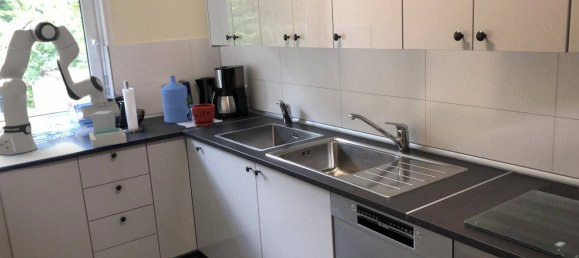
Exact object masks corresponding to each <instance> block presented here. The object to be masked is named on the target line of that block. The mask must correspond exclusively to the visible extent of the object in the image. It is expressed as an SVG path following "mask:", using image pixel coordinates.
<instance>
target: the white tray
mask: <svg viewBox="0 0 579 258" xmlns="http://www.w3.org/2000/svg"><path fill="white" fill-rule="evenodd" d="M118 128H119V127H118ZM88 135H89V140H90V141H89V142H90V143H91V146H92V148H98V147H106V146H112V145H119V144H125V143H128V141H127V134H126V133H125V132H124V130H123V129H122V128H119V132H112V133H105V134H99V135H95V133H94V131H93V132H92V131H91V132H89V134H88Z"/></svg>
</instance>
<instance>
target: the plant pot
mask: <svg viewBox="0 0 579 258" xmlns="http://www.w3.org/2000/svg"><path fill="white" fill-rule="evenodd" d="M215 110H216V107H215V104H213V103H200V104H195V105H192V106H191V113H192V117H193V120H194V121H195V122H194V125H195V126H196V127H201V128H202V127H203V128H205V127H209V126H213V125H214V124H215V120H214V119H215V115H216V114H215V113H216V111H215Z"/></svg>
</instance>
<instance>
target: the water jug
mask: <svg viewBox="0 0 579 258" xmlns="http://www.w3.org/2000/svg"><path fill="white" fill-rule="evenodd" d="M169 80H170V82H169V83H168V84H166V85H165V86H163V87H161V88H160V93H161V94H160V95H161V99H162V109H163V117H164V118H163V121H164V122H165V123H167V124H179V122H181V123H185V122H188V121H187V112H188V110H189V111H190V109H189V107H188V106H187V101H186V100H187V98H188V89H187V86H186V85H185V84H181V83H179V82H177V81H176V75H169Z"/></svg>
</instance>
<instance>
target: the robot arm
mask: <svg viewBox="0 0 579 258" xmlns="http://www.w3.org/2000/svg"><path fill="white" fill-rule="evenodd" d="M36 42H37V43H52V45H53V46H54V48H55V50H56V52H57V55H58V56H57V59H56V63H57V68H58V70H59V74H60V76H61V78H62V81H63V84H64V86H65V89H66V93H67V95H68V97H69V99H70V100H73V101H80V100H81V99H83V98H86V97H87V96H89V98H90V104H91V103H92V106H89V107H84V108H83V109H82V110H81V109H80V111H81V113H82V119H83V118H84V119H90V118H92V114H93V113H96V112H98V111H113V113H114V118H115V117H116V118H117V117H119V116H121V110H120V107H119V104H118V103H116V100H115V98H113V97H112V98H111V97H110V98H109V97H106V91H105V88H104V84H103V83H102V81H101V79H100V78H98V77H97V76H94V75H90V76H86V77H84V78H82V79H79V80H76V81H74V80H73V79H72V76H71V74H70V71H69V67H70V65H71V64H72V63H73V62H74V61H75V60H76V59H77V58H78V57H79V55H80V46H79V44H78V43H77V41H76V39H75V37H74V36H73V34H72V33H71V31H70V30H69V29H68V28H67V27H66V26H65V25H63V24H59V25H55V24H54V23H52V22H49V21H45V20H31V21H29V22H27V23H26V24H25V25H24V27H22V28H15V29H13V30H12V32H11V34H10V37H9V39H8V43H7V46H6V50H5V56H4V59H3V63H2V65H1V68H0V96H2V100H3V101H2V102H3V106H2V114H3V118H4V119H3V120H4V123H5V125H4V126H2V127H1V130H3V133H2V134H1V135H0V155H3V156H4V155H6V156H12V155H16V154H17V155H18V154H22V153H27V152H31V151H34V150H36V149H38V146H37V144H36V141H35V140H34V136H33V133H32V125H31V124H32V123H31V121H30V119H29V114H28V106H27V105H28V104H27V101H28V100H27V99H28V98H27V96H28V95H27V91H28V86H27V84H26V82H25V81H24V80H23V78H24V74H25V73H26V71H27V69H28V68H29V61H30V58H31V53H32V47H33V46H34V44H35V43H36Z"/></svg>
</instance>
